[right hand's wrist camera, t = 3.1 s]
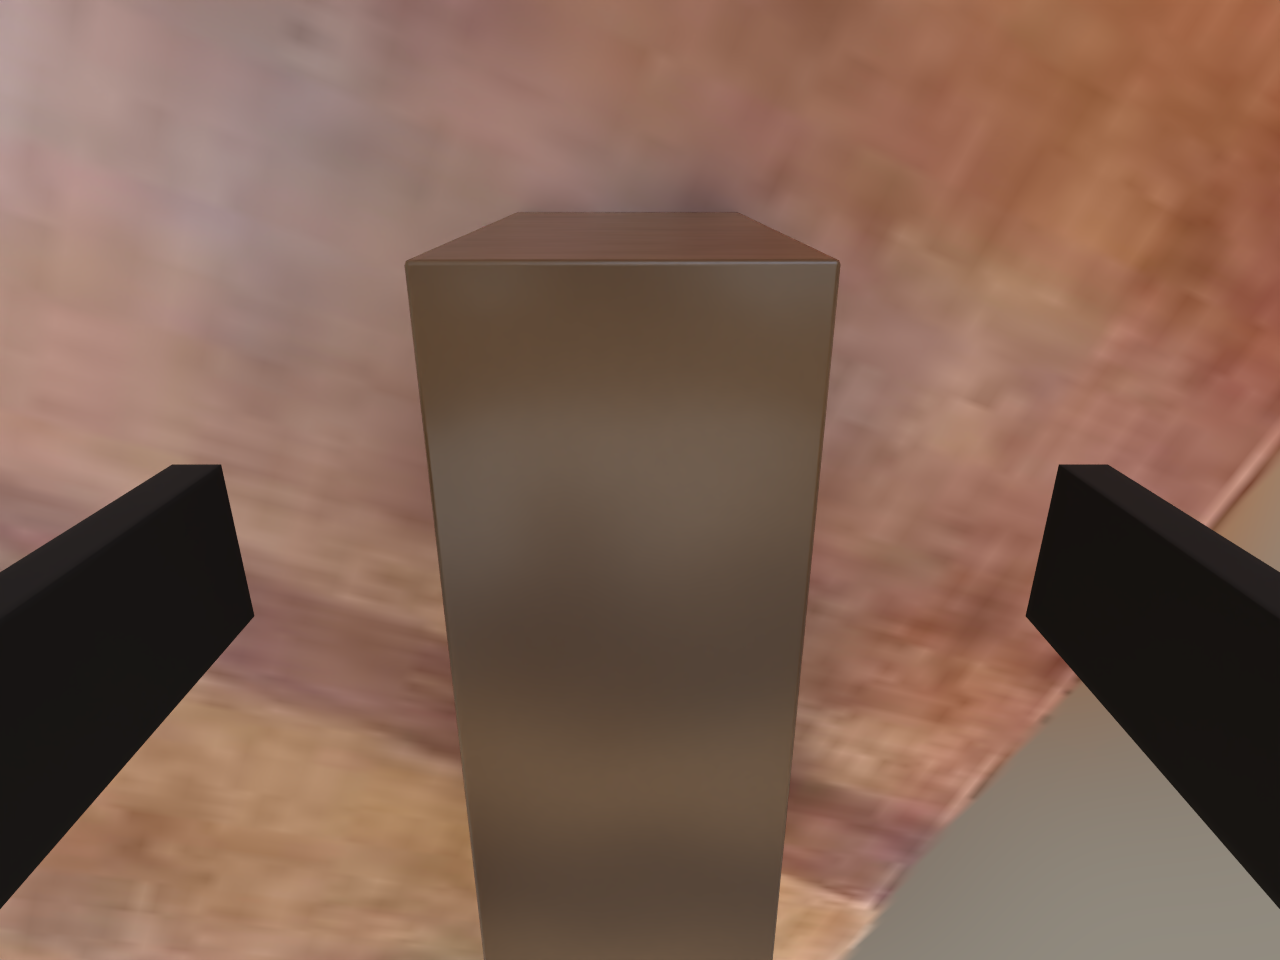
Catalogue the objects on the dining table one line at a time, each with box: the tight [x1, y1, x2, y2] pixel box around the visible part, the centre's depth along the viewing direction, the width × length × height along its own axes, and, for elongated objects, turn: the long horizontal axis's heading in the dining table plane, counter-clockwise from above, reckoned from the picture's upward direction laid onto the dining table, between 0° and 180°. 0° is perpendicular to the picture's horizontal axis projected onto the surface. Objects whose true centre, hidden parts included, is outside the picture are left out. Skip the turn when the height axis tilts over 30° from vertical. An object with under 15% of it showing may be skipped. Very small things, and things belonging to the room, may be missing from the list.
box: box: [405, 212, 840, 960], centre depth 20 cm, size 23×6×11 cm, turn 0°
